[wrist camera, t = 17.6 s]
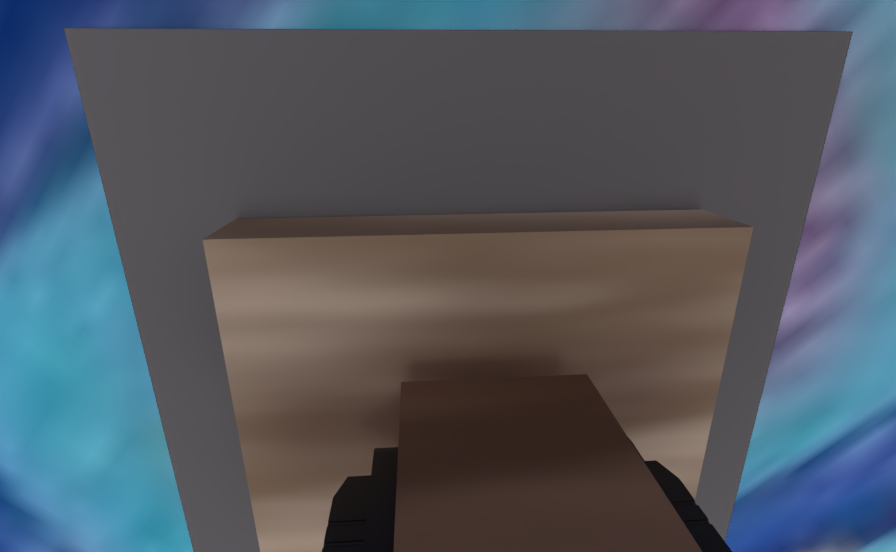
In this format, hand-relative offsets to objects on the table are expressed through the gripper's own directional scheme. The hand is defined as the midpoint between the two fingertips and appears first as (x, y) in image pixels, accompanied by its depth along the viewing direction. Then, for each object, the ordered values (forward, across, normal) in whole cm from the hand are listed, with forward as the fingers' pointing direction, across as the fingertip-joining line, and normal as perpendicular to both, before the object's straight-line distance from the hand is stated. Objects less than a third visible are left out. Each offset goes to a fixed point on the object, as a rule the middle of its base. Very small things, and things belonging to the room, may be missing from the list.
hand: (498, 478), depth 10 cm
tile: (+3, 0, -5) cm, 6 cm away
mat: (+5, 0, 0) cm, 5 cm away
